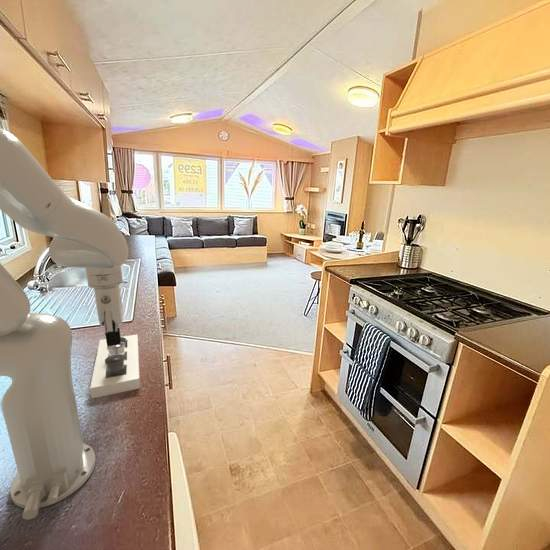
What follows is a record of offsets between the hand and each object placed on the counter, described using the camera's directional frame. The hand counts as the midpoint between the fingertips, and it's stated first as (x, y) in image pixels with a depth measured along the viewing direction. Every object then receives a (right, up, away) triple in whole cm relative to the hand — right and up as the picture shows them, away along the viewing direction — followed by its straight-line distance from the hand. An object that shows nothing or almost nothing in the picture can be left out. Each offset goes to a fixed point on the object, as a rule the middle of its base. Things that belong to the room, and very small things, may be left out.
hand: (114, 343), depth 80 cm
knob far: (-6, -6, +15) cm, 18 cm away
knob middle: (-3, -6, +8) cm, 11 cm away
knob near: (0, -8, +2) cm, 8 cm away
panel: (-3, -9, +9) cm, 13 cm away
